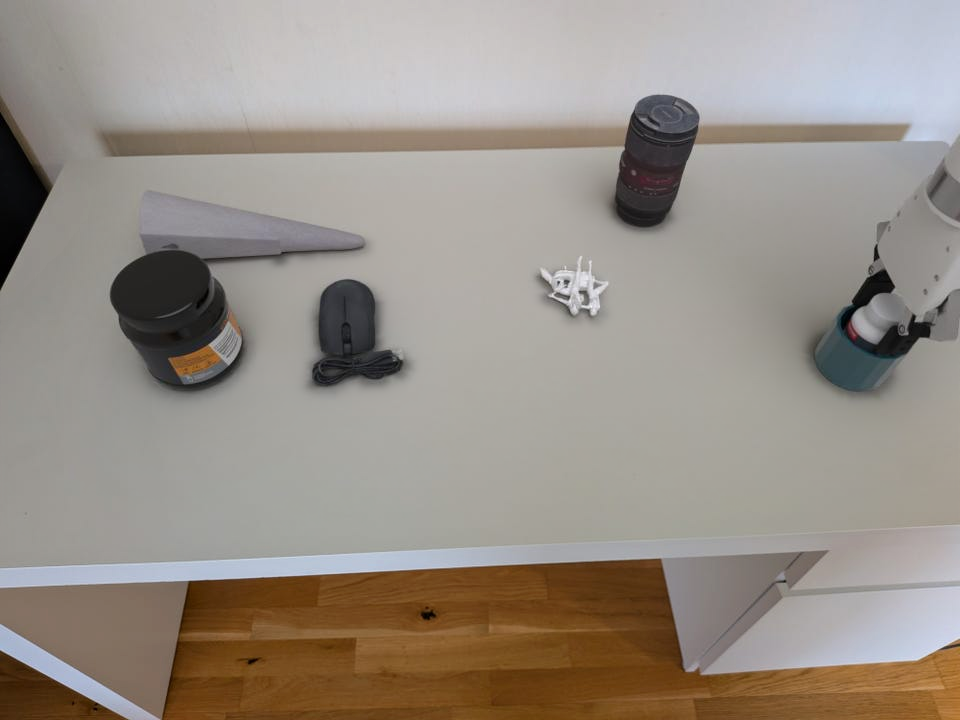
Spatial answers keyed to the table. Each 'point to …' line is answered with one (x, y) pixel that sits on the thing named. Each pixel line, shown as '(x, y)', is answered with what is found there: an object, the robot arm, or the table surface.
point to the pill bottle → (874, 321)
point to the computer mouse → (350, 334)
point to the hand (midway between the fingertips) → (878, 326)
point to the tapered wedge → (229, 230)
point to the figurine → (576, 287)
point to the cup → (851, 358)
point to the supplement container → (177, 319)
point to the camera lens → (654, 158)
